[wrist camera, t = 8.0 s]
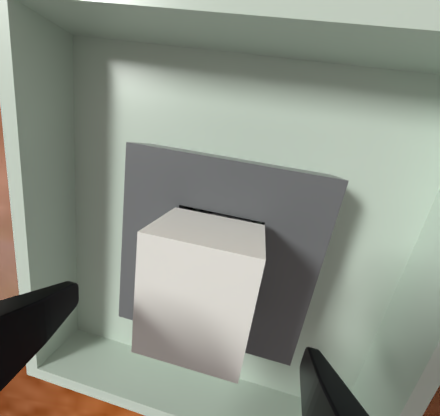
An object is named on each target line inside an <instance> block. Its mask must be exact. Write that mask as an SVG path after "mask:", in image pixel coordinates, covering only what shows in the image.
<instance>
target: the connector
mask: <svg viewBox="0 0 440 416" xmlns="http://www.w3.org/2000/svg"><path fill="white" fill-rule="evenodd" d="M265 262H266V246H265V225H262V224H257V223H252V222H251V220H250V219H245V218H240V217H235V216H230V215H226V214H221V213H216V212H211V211H206V210H199V211H198V212H197V211H192V210H187V209H181V208H176V207H175V208H174V209H172V210H170V211H169V212H167V213H166V214H164V215H163V216H161V217H160V218H158V219H156V220H155V221H153V222H152V223H150V224H149V225H147V226H146V227H144V228H143V229H141V230H139V231H138V232H137V250H136V269H135V289H134V308H133V327H132V347H131V352H133V353H136V354H140V355H143V356H146V357H150V358H153V359H156V360H160V361H163V362H166V363H170V364H173V365H176V366H180V367H183V368H186V369H190V370H193V371H196V372H200V373H203V374H206V375H210V376H213V377H216V378H220V379H223V380H226V381H230V382H233V383H236V384H238V381H239V377H240V372H241V368H242V364H243V359H244V355H245V350H246V346H247V341H248V337H249V333H250V328H251V324H252V319H253V315H254V310H255V306H256V302H257V297H258V293H259V288H260V284H261V279H262V275H263V271H264V266H265Z"/></svg>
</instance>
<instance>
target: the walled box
mask: <svg viewBox="0 0 440 416" xmlns="http://www.w3.org/2000/svg"><path fill="white" fill-rule="evenodd" d="M0 105H1V115H2V125H3V135H4V145H5V156H6V166H7V176H8V186H9V196H10V206H11V216H12V226H13V236H14V247H15V257H16V267H17V277H18V287H19V295H21V294H24V293H28V292H31V291H34V290H38V289H41V288H45V287H48V286H51V285H55V284H58V283H62V282H65V281H71V282H75V283H77V284H78V285H79V302H78V304H77V306H76V308H75V309H74V310H73V311H72V312H71V314H70V315H69V316H68V317H67V319H66V320H65V321H64V322H63V324H62V325H61V326H60V327H59V328H58V330H57V331H56V332H55V333H54V335H53V336H52V337H51V338H50V339H49V341H48V342H47V343H46V344H45V345H44V346H43V347H42V348H41V349H40V350H39V351H38V352H37V354H36V355H35V356H34V357H33V358H32V359H31V360H30V361H29V362H28V363H27V364H26V368H27V375H30V376H33V377H36V378H39V379H42V380H45V381H47V382H50V383H53V384H56V385H59V386H62V387H65V388H68V389H70V390H73V391H76V392H79V393H82V394H85V395H88V396H91V397H94V398H96V399H99V400H102V401H105V402H108V403H111V404H114V405H117V406H119V407H122V408H125V409H128V410H131V411H134V412H137V413H140V414H143V415H145V416H302V408H301V390H300V363H301V360H302V357H303V354H304V351H305V349H306V347H312V348H315V349H318V350H320V351H321V353H322V354H323V355H324V357H325V358H326V359H327V361H328V362H329V363H330V365H331V366H332V367H333V368H334V370H335V371H336V372H337V374H338V375H339V376H340V378H341V379H342V380H343V382H344V383H345V384H346V386H347V387H348V388H349V390H350V391H351V392H352V393H353V395H354V396H355V397H356V399H357V400H358V401H359V403H360V404H361V405H362V407H363V408H364V409H365V411H366V412H367V413H368V414H369V416H422V415H423V414H424V412H425V410H426V408H427V407H428V405H429V403H430V401H431V400H432V398H433V396H434V394H435V393H436V391H437V389H438V387H439V386H440V0H0ZM175 207H176V208H181V209H187V210H192V211H197V212H198V211H199V210H206V211H211V212H216V213H221V214H226V215H230V216H235V217H240V218H245V219H250V220H251V222H252V223H257V224H262V225H265V246H266V262H265V266H264V271H263V275H262V279H261V284H260V288H259V293H258V297H257V302H256V306H255V310H254V315H253V319H252V324H251V328H250V333H249V337H248V341H247V346H246V350H245V355H244V359H243V364H242V368H241V372H240V377H239V381H238V384H236V383H233V382H230V381H226V380H223V379H220V378H216V377H213V376H210V375H206V374H203V373H200V372H196V371H193V370H190V369H186V368H183V367H180V366H176V365H173V364H170V363H166V362H163V361H160V360H156V359H153V358H150V357H146V356H143V355H140V354H136V353H133V352H131V347H132V327H133V308H134V289H135V269H136V250H137V232H138V231H139V230H141V229H143V228H144V227H146V226H147V225H149V224H150V223H152V222H153V221H155V220H156V219H158V218H160V217H161V216H163V215H164V214H166V213H167V212H169V211H170V210H172V209H174V208H175Z"/></svg>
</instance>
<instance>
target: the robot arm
mask: <svg viewBox="0 0 440 416" xmlns="http://www.w3.org/2000/svg"><path fill="white" fill-rule="evenodd" d="M78 302H79V285H78V284H77V283H75V282H71V281H65V282H62V283H58V284H55V285H51V286H48V287H45V288H41V289H38V290H34V291H31V292H28V293H24V294H21V295H17V296H14V297H11V298H7V299H4V300H0V391H1V390H2V389H3V388H4V387H5V386H6V385H7V384H8V383H9V382H10V381H11V380H12V379H13V378H14V377H15V376H16V374H17V373H18V372H19V371H20V370H21V369H22V368H23V367H24V366H25V365H26V364H27V363H28V362H29V361H30V360H31V359H32V358H33V357H34V356H35V355H36V354H37V352H38V351H39V350H40V349H41V348H42V347H43V346H44V345H45V344H46V343H47V342H48V341H49V339H50V338H51V337H52V336H53V335H54V333H55V332H56V331H57V330H58V328H59V327H60V326H61V325H62V324H63V322H64V321H65V320H66V319H67V317H68V316H69V315H70V314H71V312H72V311H73V310H74V309H75V308H76V306H77V304H78ZM300 390H301V408H302V416H369V414H368V413H367V412H366V411H365V409H364V408H363V407H362V405H361V404H360V403H359V401H358V400H357V399H356V397H355V396H354V395H353V393H352V392H351V391H350V390H349V388H348V387H347V386H346V384H345V383H344V382H343V380H342V379H341V378H340V376H339V375H338V374H337V372H336V371H335V370H334V368H333V367H332V366H331V365H330V363H329V362H328V361H327V359H326V358H325V357H324V355H323V354H322V353H321V351H320V350H318V349H315V348H312V347H306V349H305V351H304V354H303V357H302V360H301V363H300Z"/></svg>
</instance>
